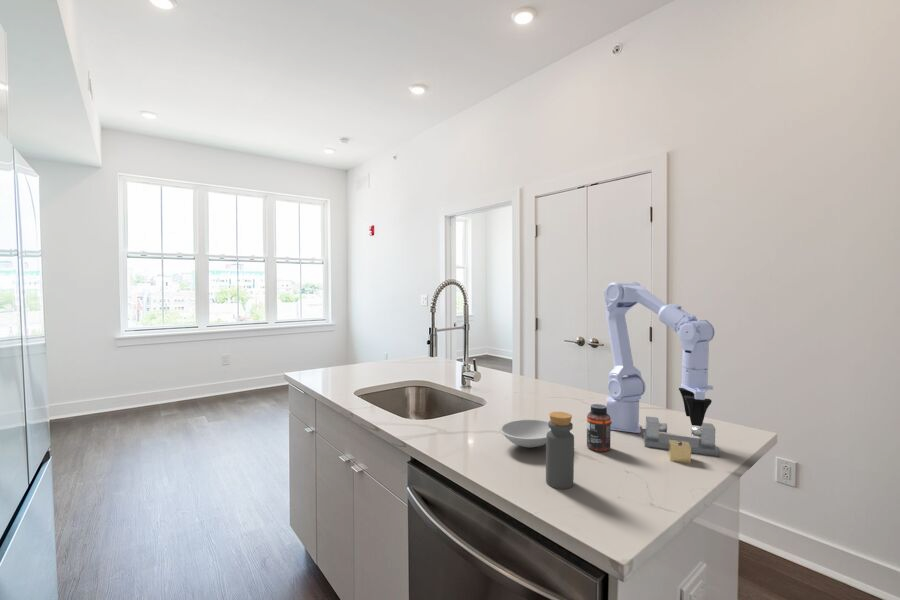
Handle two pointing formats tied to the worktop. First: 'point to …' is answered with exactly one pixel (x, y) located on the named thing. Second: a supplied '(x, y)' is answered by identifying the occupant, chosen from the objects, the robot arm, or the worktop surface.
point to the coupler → (679, 451)
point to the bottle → (560, 451)
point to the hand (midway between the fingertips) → (693, 420)
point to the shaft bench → (681, 437)
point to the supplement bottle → (598, 428)
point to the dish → (526, 432)
